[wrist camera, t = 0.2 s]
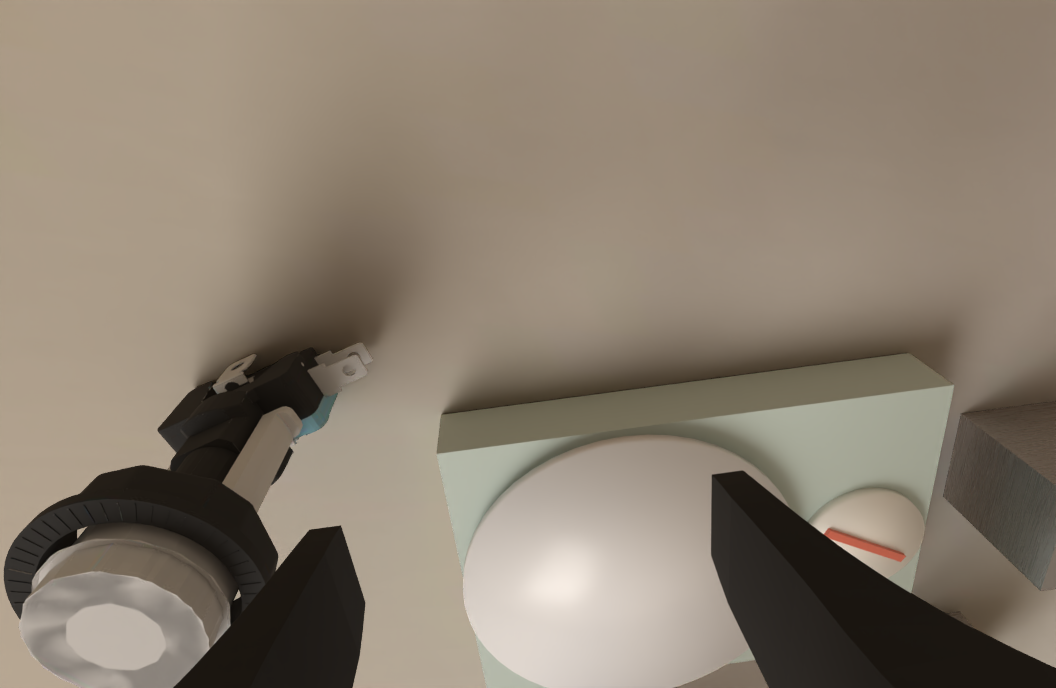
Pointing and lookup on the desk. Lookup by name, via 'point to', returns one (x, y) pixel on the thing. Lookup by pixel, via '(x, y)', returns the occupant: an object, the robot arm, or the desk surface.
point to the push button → (170, 531)
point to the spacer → (1010, 484)
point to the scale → (672, 510)
